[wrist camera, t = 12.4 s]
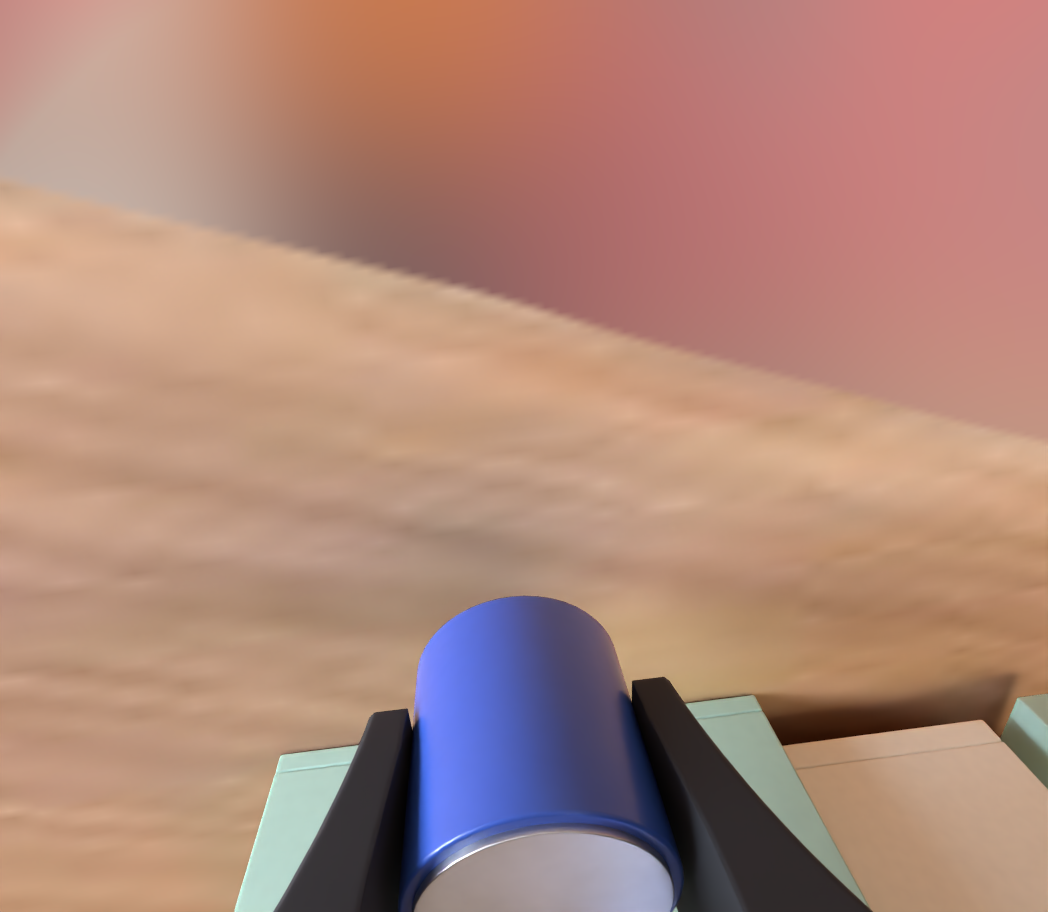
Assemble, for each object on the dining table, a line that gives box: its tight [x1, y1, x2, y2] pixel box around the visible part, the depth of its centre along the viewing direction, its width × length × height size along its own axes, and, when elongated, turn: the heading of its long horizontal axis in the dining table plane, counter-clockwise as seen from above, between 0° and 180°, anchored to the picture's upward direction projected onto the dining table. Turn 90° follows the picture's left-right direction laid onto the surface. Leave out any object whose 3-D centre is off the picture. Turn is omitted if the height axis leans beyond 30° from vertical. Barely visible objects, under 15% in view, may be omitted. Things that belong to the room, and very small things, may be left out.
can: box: [398, 596, 684, 912], centre depth 11 cm, size 4×4×4 cm
